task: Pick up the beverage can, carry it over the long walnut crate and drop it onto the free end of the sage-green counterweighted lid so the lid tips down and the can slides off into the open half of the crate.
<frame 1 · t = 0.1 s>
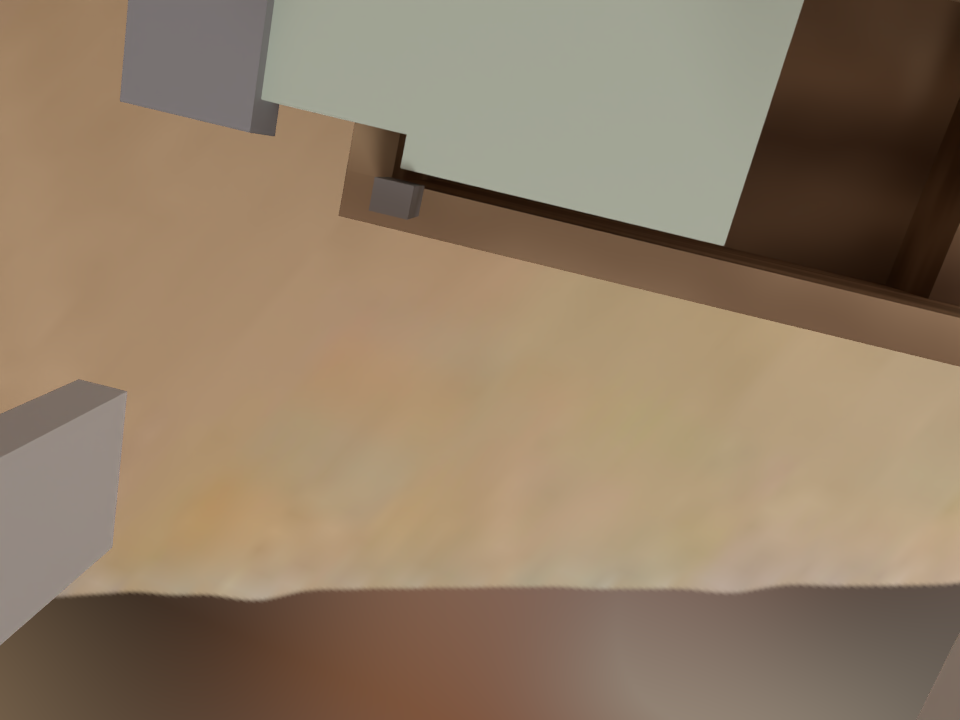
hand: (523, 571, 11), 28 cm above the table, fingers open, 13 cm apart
crate: (699, 102, 34), on the table
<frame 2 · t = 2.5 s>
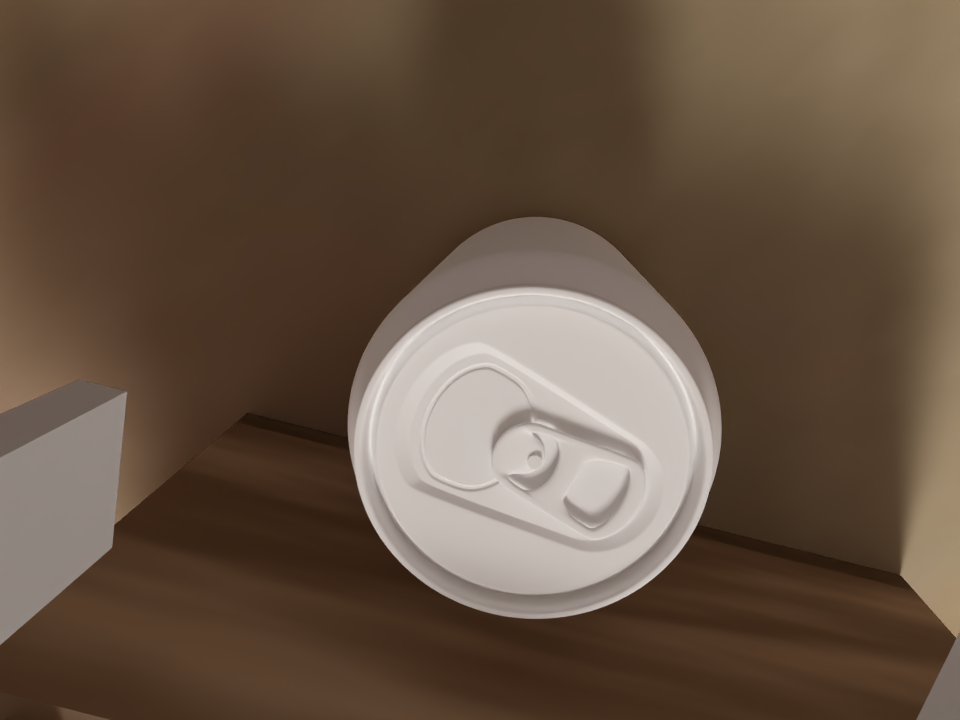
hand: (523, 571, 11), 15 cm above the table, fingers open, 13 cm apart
beverage can: (534, 327, 25), on the table
crate: (521, 661, 29), on the table
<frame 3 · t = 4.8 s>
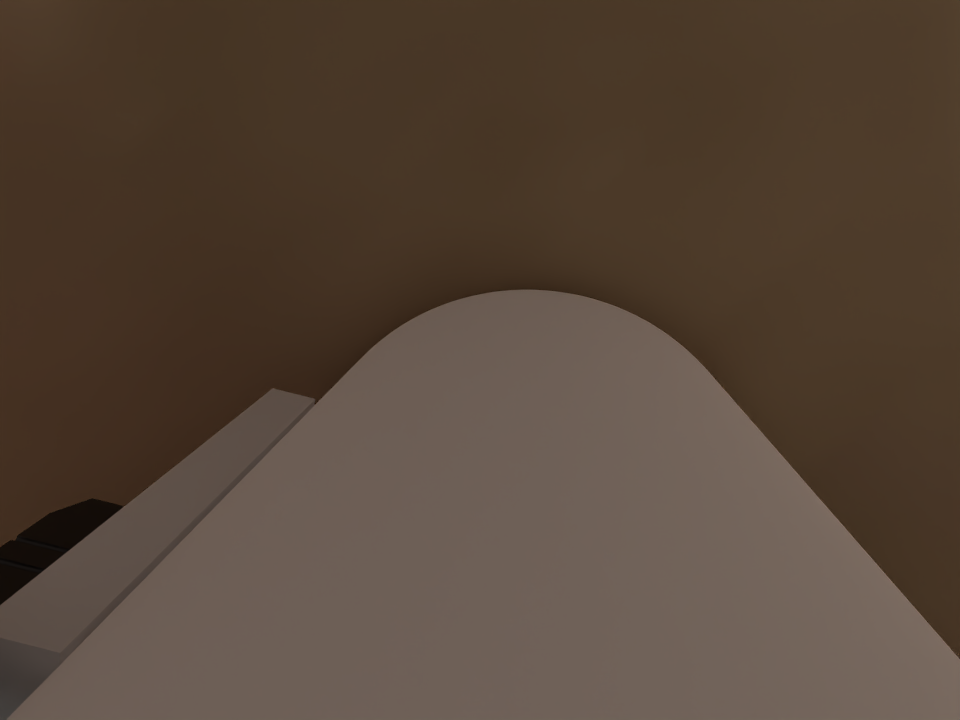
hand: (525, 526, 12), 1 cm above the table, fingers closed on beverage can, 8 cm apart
beverage can: (526, 488, 13), on the table, touching gripper
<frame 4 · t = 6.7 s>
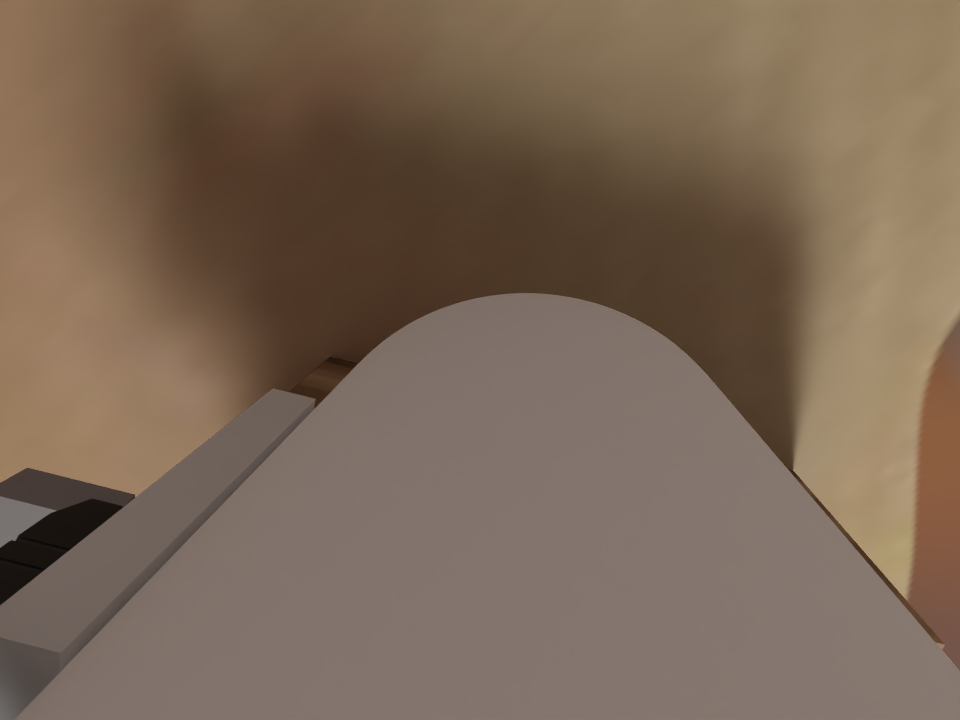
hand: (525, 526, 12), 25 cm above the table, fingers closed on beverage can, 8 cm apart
beverage can: (526, 491, 13), point 24 cm above the table, touching gripper
lid: (243, 687, 25), point 16 cm above the table, hinge at 0.0°
crate: (524, 540, 40), on the table
when the fingers open (20 cm above the table, at t = 8.9 s): beverage can drops 13 cm, resting on crate.
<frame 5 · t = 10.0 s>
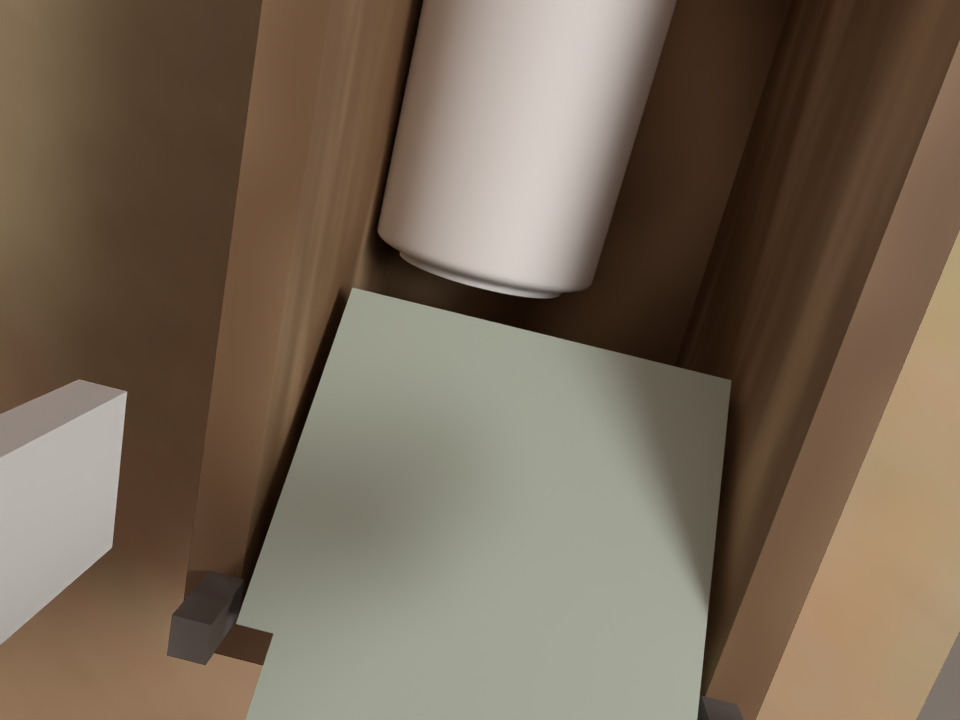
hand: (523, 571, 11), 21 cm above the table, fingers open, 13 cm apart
beverage can: (479, 277, 26), point 5 cm above the table, touching crate
lid: (469, 650, 18), point 15 cm above the table, hinge at -37.7°
crate: (556, 223, 30), on the table
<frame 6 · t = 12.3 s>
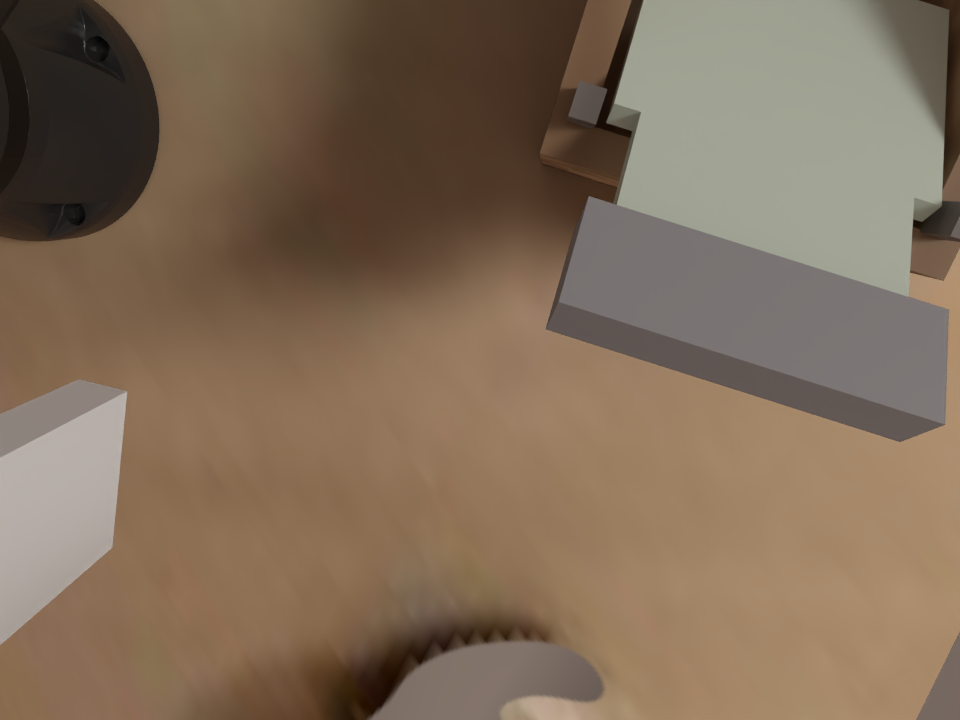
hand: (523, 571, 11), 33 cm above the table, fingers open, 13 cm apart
lid: (772, 147, 25), point 15 cm above the table, hinge at -37.7°
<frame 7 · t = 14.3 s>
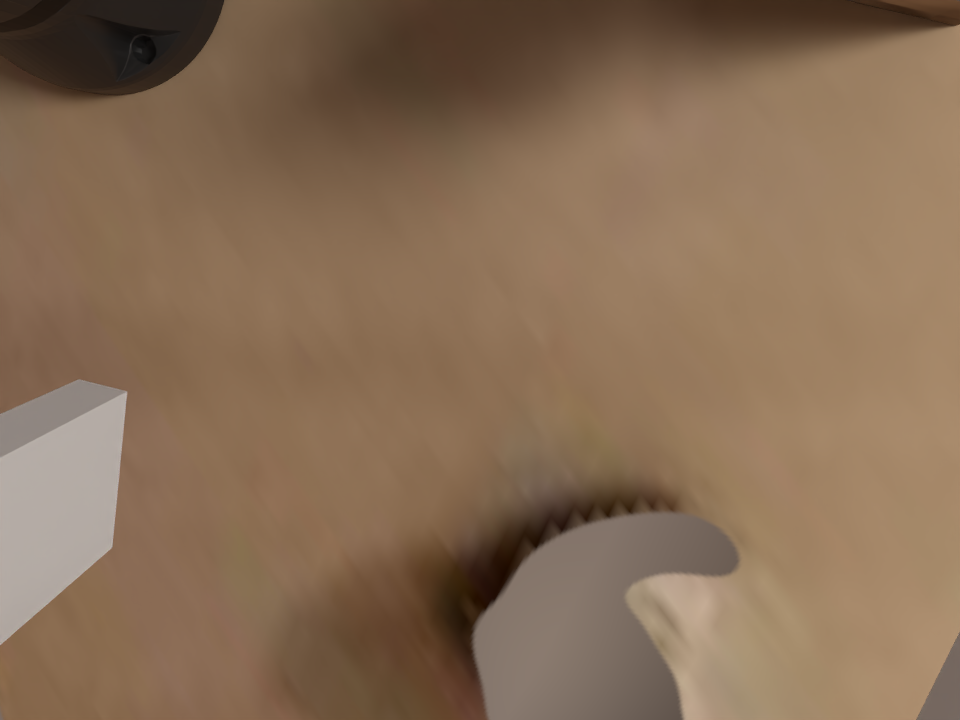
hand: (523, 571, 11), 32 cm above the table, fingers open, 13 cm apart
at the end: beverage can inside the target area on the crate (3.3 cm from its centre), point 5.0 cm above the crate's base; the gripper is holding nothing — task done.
